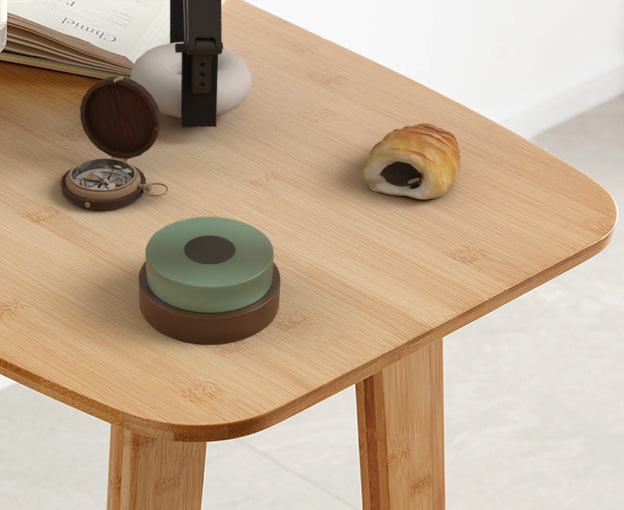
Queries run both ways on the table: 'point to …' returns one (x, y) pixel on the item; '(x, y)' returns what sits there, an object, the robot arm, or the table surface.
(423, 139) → the pastry
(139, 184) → the compass
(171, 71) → the donut
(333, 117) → the table surface
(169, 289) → the ring stack
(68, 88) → the table surface
